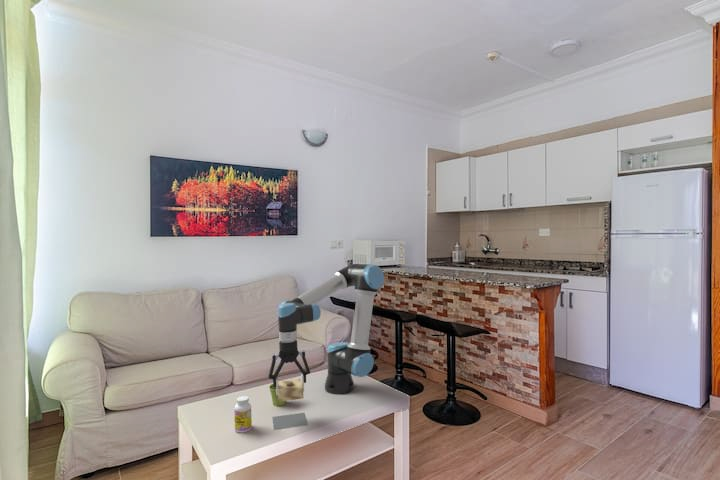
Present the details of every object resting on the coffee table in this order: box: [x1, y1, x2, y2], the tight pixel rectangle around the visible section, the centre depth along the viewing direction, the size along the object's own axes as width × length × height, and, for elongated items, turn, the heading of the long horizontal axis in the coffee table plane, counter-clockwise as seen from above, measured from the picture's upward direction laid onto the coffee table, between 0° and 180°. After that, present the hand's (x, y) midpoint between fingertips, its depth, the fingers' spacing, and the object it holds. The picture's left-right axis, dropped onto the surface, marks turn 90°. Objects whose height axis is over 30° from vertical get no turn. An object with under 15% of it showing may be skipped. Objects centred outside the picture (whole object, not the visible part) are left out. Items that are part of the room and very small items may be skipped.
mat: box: [271, 412, 309, 431], centre depth 168 cm, size 14×12×1 cm
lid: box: [278, 378, 305, 402], centre depth 169 cm, size 10×10×5 cm
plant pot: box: [268, 383, 287, 407], centre depth 186 cm, size 9×9×9 cm
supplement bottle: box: [234, 395, 253, 433], centre depth 162 cm, size 7×7×13 cm
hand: (290, 392), depth 169 cm, fingers closed on lid, 10 cm apart
